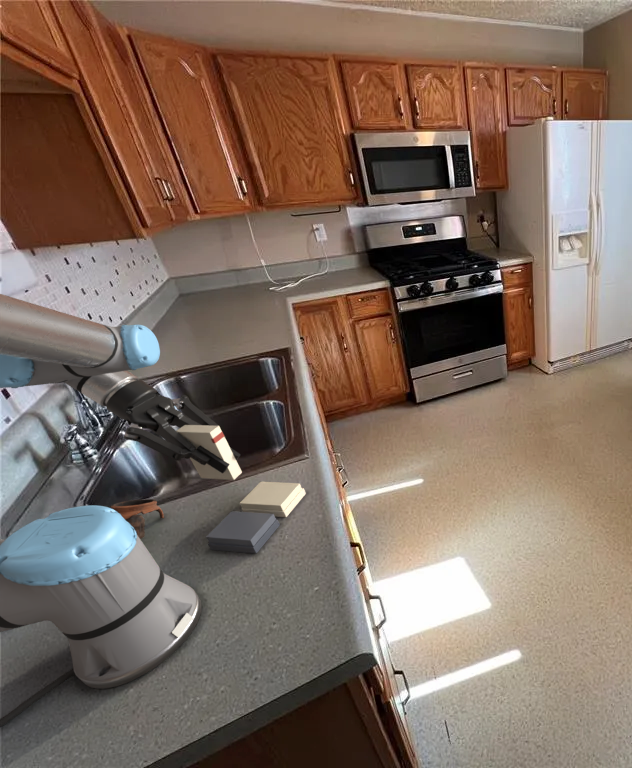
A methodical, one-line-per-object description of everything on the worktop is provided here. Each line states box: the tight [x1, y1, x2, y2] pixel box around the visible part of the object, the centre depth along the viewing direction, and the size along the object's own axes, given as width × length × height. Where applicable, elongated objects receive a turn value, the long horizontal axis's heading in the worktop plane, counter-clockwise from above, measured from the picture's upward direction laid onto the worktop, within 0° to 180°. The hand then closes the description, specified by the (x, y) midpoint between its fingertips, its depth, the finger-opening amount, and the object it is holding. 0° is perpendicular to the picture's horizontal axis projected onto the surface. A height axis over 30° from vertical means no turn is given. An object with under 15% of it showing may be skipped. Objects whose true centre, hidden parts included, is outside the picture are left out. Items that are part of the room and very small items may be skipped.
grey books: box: [205, 510, 281, 554], centre depth 81 cm, size 7×10×3 cm
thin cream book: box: [176, 425, 243, 481], centre depth 85 cm, size 2×8×12 cm, turn 81°
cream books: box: [239, 481, 307, 518], centre depth 89 cm, size 7×10×3 cm
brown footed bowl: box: [109, 498, 165, 540], centre depth 84 cm, size 12×10×8 cm
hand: (231, 463), depth 85 cm, fingers closed on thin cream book, 2 cm apart
